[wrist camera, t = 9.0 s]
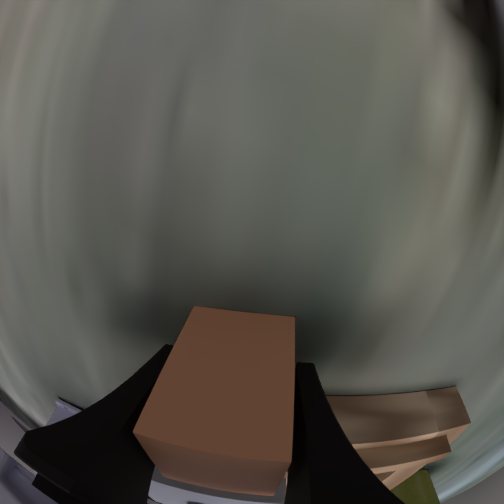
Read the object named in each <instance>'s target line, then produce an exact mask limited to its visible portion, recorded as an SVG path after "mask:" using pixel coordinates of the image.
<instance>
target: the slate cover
mask: <svg viewBox="0 0 504 504" xmlns="http://www.w3.org/2000/svg"><path fill="white" fill-rule="evenodd" d="M285 491H286V478H283V480H282V481H281V483H280V485H279V487H278V489H277V491H276V492H275V494H274V496H264V495H253V494H244V493H236V492H230V491H223V490H217V489H212V488H207V487H202V486H197V485H193V484H189V483H185V482H181V481H177V480H173V479H170V478H166V477H164V476H163V475H162V474H161V472H160V471H159V470H158V468H157V467H156V466H155V468H154V472H153V476H152V480H151V484H150V489H149V494H148V495H149V496H150V497H151V498H152V499H153V500H155V501H157V502H160V503H163V504H284V502H285Z"/></svg>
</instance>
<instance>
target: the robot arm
mask: <svg viewBox="0 0 504 504" xmlns="http://www.w3.org/2000/svg"><path fill="white" fill-rule="evenodd" d="M173 347H174V346H173V345H168V344H166V345H165V346H163V347H162V348H161V349H160V350H159V351H158V352H157V353H156V354H155V355H154V356H153V357H152V358H151V359H150V360H149V361H148V362H147V363H146V364H145V365H144V366H142V367H141V368H140V369H139V370H138V371H137V372H136V373H135V374H133V375H132V376H131V377H130V378H129V379H128V380H126V381H125V382H124V383H123V384H121V385H120V386H119V387H118V388H116V389H115V390H114V391H112V392H111V393H110V394H108V395H107V396H105V397H104V398H103V399H101V400H99V401H98V402H96V403H95V404H93V405H91V406H90V407H88V408H86V409H84V410H80V409H78V408H76V407H74V406H72V405H70V404H68V403H66V402H64V401H62V400H60V399H58V398H57V399H56V400H55V402H56V404H57V405H58V407H57V409H56V410H55V412H54V413H53V415H52V416H51V418H50V419H49V421H48V423H47V424H46V426H44V427H41V428H37V429H34V430H30V431H26V433H25V434H24V436H23V438H22V439H21V441H20V442H19V444H18V446H17V448H16V449H15V451H14V454H15V455H16V456H17V457H18V458H19V459H21V460H22V461H23V462H24V463H25V464H27V465H28V466H29V467H31V468H32V469H33V470H34V472H35V473H36V474H37V475H36V477H35V476H34V475H33V474H32V473H31V472H30V471H28V470H27V469H26V468H25V467H23V466H22V465H21V464H20V463H18V462H17V461H16V460H15V459H14V458H12V457H11V456H10V455H8V454H7V453H6V452H5V451H4V450H3V449H2V448H1V447H0V504H147V499H148V494H149V489H150V484H151V480H152V476H153V472H154V468H155V464H154V463H153V462H152V460H151V459H150V457H149V456H148V454H147V453H146V452H145V450H144V449H143V447H142V446H141V444H140V443H139V441H138V440H137V438H136V437H135V435H134V433H133V430H134V428H135V426H136V423H137V421H138V419H139V417H140V415H141V413H142V411H143V408H144V406H145V404H146V402H147V400H148V398H149V396H150V394H151V392H152V390H153V387H154V385H155V383H156V381H157V379H158V377H159V375H160V373H161V371H162V369H163V367H164V365H165V363H166V361H167V359H168V357H169V355H170V353H171V351H172V349H173ZM284 504H405V503H404V502H403V501H402V500H400V499H399V498H398V497H397V496H396V495H395V494H394V493H393V492H391V491H390V490H389V489H388V488H387V487H386V486H385V485H384V484H383V483H382V482H381V481H380V480H379V479H378V478H377V476H376V475H375V474H374V473H373V472H372V470H371V469H370V468H369V467H368V466H367V465H366V463H365V462H364V461H363V460H362V458H361V457H360V456H359V454H358V453H357V451H356V450H355V449H354V447H353V446H352V444H351V443H350V441H349V439H348V438H347V436H346V435H345V433H344V431H343V429H342V428H341V426H340V424H339V422H338V420H337V419H336V417H335V415H334V413H333V411H332V408H331V406H330V404H329V402H328V400H327V398H326V395H325V393H324V391H323V388H322V385H321V383H320V380H319V377H318V374H317V371H316V368H315V365H314V364H313V363H303V362H297V363H296V368H295V385H294V420H293V443H292V461H291V464H290V466H289V468H288V477H287V486H286V494H285V502H284Z"/></svg>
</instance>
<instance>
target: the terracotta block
mask: <svg viewBox="0 0 504 504" xmlns="http://www.w3.org/2000/svg"><path fill="white" fill-rule="evenodd" d="M294 385H295V317H291V316H279V315H268V314H258V313H249V312H240V311H231V310H223V309H215V308H207V307H200V306H194V307H193V309H192V311H191V313H190V315H189V317H188V319H187V321H186V323H185V325H184V327H183V329H182V331H181V333H180V335H179V337H178V339H177V341H176V343H175V345H174V347H173V349H172V351H171V353H170V355H169V357H168V359H167V361H166V363H165V365H164V367H163V369H162V371H161V373H160V375H159V377H158V379H157V381H156V383H155V385H154V387H153V390H152V392H151V394H150V396H149V398H148V400H147V402H146V404H145V406H144V408H143V411H142V413H141V415H140V417H139V419H138V421H137V423H136V426H135V428H134V430H133V433H134V435H135V437H136V438H137V440H138V441H139V443H140V444H141V446H142V447H143V449H144V450H145V452H146V453H147V454H148V456H149V457H150V459H151V460H152V462H153V463H154V464H155V466H156V467H157V468H158V470H159V471H160V472H161V474H162V475H163V476H164V477H166V478H170V479H173V480H177V481H181V482H185V483H189V484H193V485H197V486H202V487H207V488H212V489H217V490H223V491H230V492H236V493H244V494H253V495H264V496H274V494H275V492H276V491H277V489H278V487H279V485H280V483H281V481H282V480H283V478H284V476H285V474H286V472H287V470H288V468H289V466H290V464H291V461H292V443H293V420H294Z"/></svg>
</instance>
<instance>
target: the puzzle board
mask: <svg viewBox="0 0 504 504" xmlns="http://www.w3.org/2000/svg"><path fill="white" fill-rule="evenodd" d="M326 398H327V400H328V402H329V404H330V406H331V408H332V411H333V413H334V415H335V417H336V419H337V420H338V422H339V424H340V426H341V428H342V429H343V431H344V433H345V435H346V436H347V438H348V439H349V441H350V443H351V444H352V446H353V447H354V449H355V450H356V451H357V453H358V454H359V456H360V457H361V458H362V460H363V461H364V462H365V463H366V465H367V466H368V467H369V468H370V469H371V470H372V472H373V473H374V474H375V475H376V476H377V478H378V479H379V480H380V481H381V482H382V483H383V484H384V485H385V486H386V487H387V488H388V489H389V490H391V489H393V488H394V487H396V486H397V485H399V484H400V483H401V482H403V481H404V480H406V479H407V478H409V477H410V476H411V475H413V474H414V473H415V472H417V471H418V470H419V469H421V468H422V467H423V466H424V465H426V464H428V463H431V462H435V461H438V460H442V459H443V458H444V457H445V456H447V455H448V454H449V453H450V452H451V449H450V445H449V444H450V443H451V442H452V441H454V440H455V439H456V438H457V437H458V436H459V435H460V434H461V433H462V432H463V431H464V430H465V429H466V428H467V427H468V426H469V425H470V424H471V421H470V418H469V416H468V413H467V411H466V408H465V406H464V404H463V401H462V399H461V396H460V394H459V392H458V390H457V387H456V386H455V387H449V388H443V389H436V390H429V391H421V392H412V393H401V394H388V395H370V396H326ZM287 477H288V470H287V472H286V474H285V476H284V478H286V486H287ZM285 494H286V491H285Z"/></svg>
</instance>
